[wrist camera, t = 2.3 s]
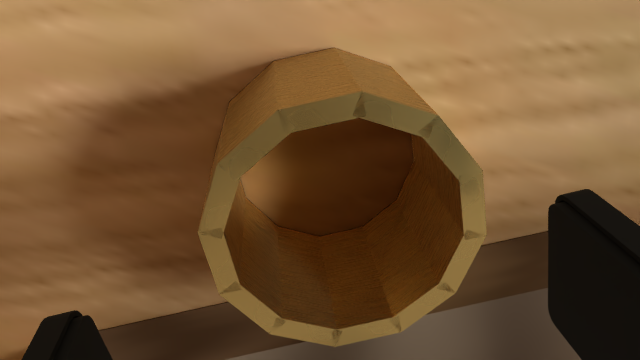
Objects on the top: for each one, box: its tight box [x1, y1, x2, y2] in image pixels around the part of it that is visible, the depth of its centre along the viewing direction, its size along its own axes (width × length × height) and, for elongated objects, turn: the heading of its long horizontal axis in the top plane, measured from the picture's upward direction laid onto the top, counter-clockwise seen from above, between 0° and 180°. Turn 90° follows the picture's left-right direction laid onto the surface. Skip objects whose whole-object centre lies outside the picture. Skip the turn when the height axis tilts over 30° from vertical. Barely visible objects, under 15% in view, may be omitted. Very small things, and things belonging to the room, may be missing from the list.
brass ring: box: [198, 48, 487, 347], centre depth 16 cm, size 7×7×5 cm
